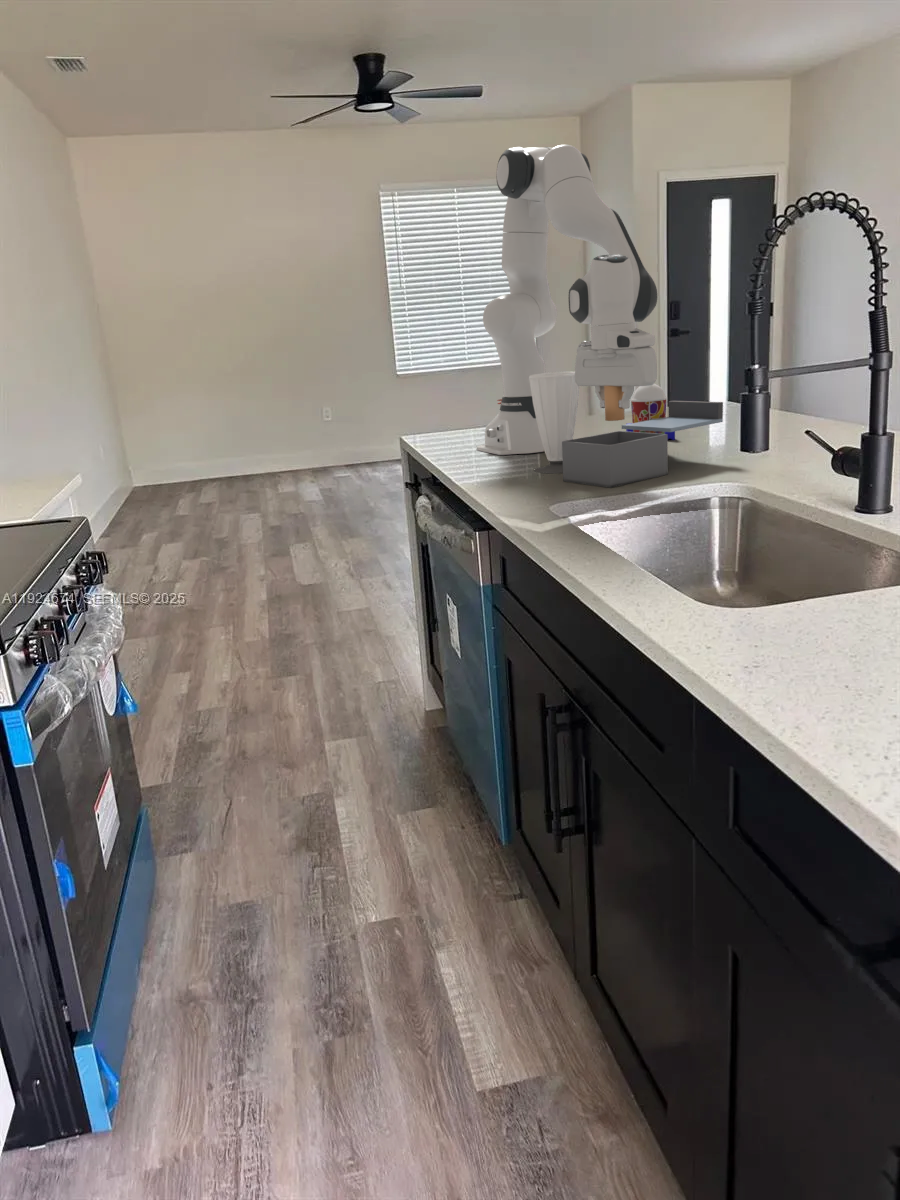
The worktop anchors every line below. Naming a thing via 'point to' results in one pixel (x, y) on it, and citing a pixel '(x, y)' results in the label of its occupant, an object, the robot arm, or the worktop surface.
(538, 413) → the cup
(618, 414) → the orange cylinder
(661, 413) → the smoothie
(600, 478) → the box
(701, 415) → the lid
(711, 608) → the worktop surface
